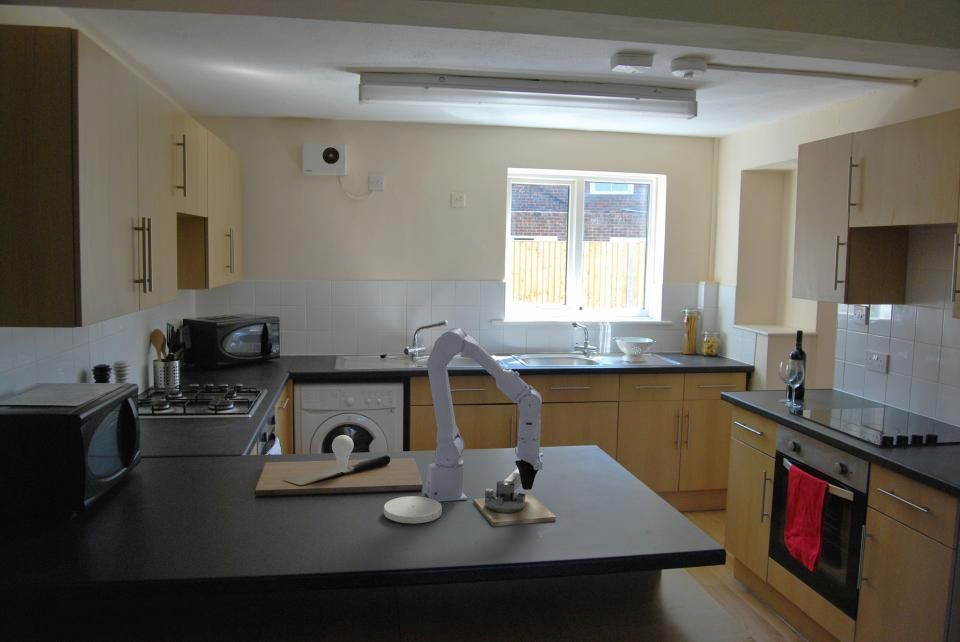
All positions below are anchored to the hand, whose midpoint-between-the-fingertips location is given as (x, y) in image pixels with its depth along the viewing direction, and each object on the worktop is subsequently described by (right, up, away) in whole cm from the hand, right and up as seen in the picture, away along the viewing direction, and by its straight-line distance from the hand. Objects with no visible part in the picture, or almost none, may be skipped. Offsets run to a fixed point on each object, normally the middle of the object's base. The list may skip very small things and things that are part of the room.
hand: (526, 488), depth 182 cm
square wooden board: (-4, -4, -6) cm, 8 cm away
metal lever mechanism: (-4, -2, -1) cm, 5 cm away
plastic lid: (-29, -4, -11) cm, 31 cm away
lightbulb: (-52, 0, +20) cm, 55 cm away
